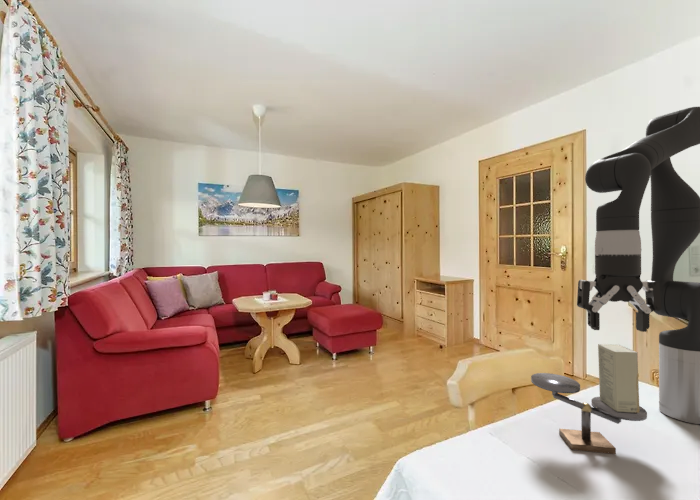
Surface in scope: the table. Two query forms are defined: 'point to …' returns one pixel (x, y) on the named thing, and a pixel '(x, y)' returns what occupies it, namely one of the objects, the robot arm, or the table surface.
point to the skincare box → (618, 377)
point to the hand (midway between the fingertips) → (617, 330)
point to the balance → (584, 414)
